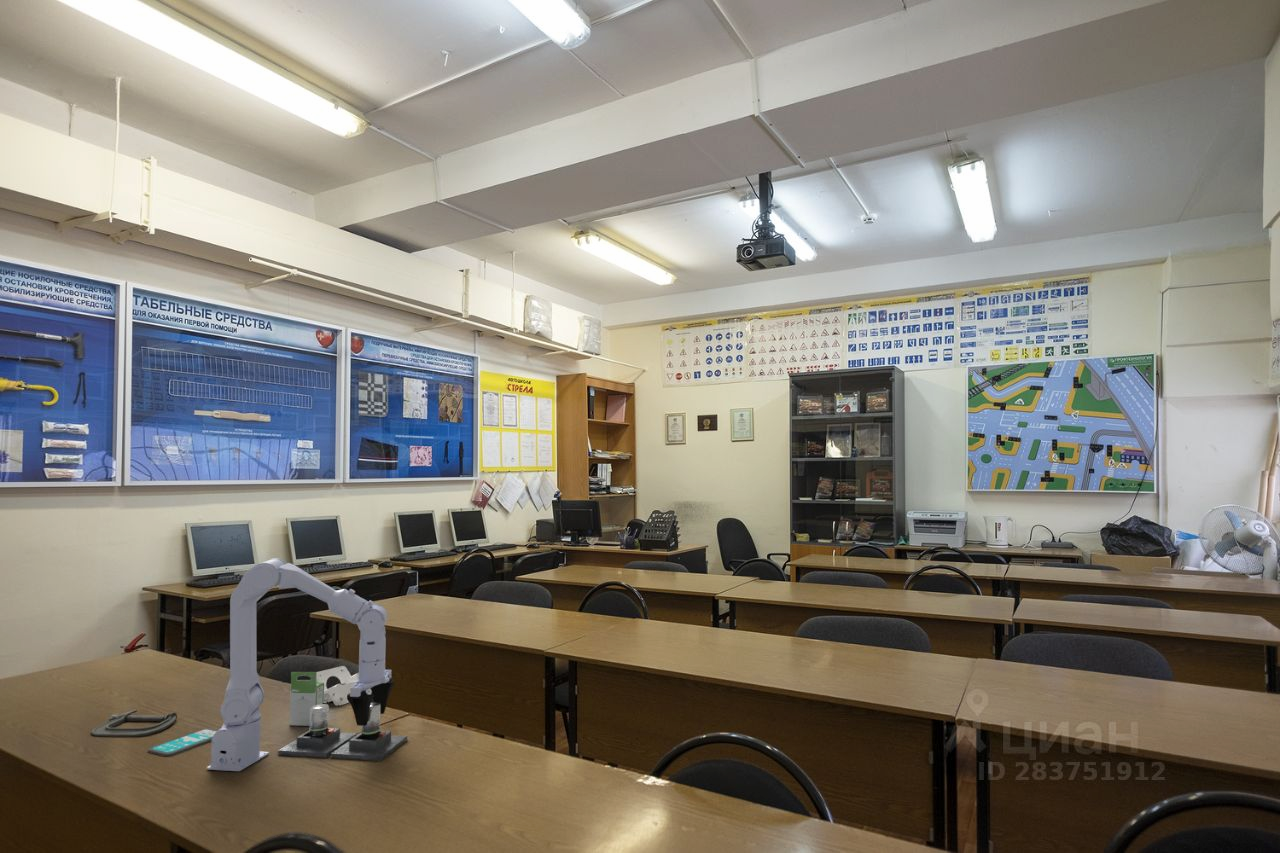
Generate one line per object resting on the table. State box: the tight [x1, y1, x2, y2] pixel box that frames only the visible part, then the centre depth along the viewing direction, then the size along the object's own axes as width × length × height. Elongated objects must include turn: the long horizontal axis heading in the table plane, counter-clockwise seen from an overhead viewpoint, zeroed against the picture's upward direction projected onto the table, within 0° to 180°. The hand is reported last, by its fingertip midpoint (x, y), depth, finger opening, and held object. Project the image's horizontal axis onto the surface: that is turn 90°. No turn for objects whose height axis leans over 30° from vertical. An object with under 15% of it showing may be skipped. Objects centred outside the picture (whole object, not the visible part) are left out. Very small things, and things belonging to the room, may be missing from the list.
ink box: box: [288, 671, 325, 727], centre depth 175 cm, size 7×4×13 cm, turn 84°
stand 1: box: [277, 727, 358, 759], centre depth 160 cm, size 12×12×4 cm
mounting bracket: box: [316, 665, 372, 707], centre depth 193 cm, size 12×6×11 cm, turn 144°
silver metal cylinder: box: [308, 703, 330, 736], centre depth 160 cm, size 4×4×6 cm
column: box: [360, 701, 381, 735], centre depth 158 cm, size 4×4×6 cm
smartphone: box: [147, 727, 221, 757], centre depth 162 cm, size 9×1×15 cm
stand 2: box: [330, 729, 408, 762], centre depth 158 cm, size 12×12×4 cm
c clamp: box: [91, 709, 178, 738], centre depth 174 cm, size 20×17×3 cm
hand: (370, 719), depth 158 cm, fingers open, 7 cm apart
